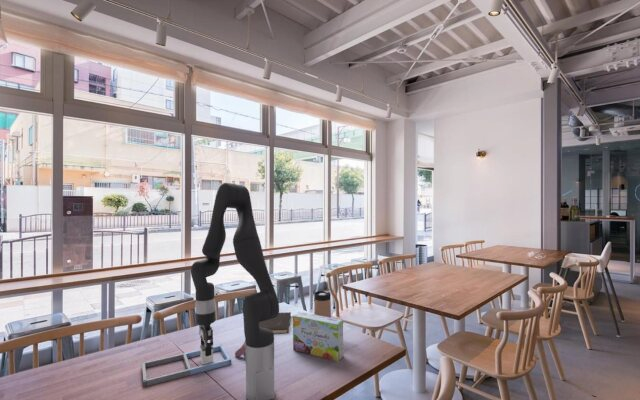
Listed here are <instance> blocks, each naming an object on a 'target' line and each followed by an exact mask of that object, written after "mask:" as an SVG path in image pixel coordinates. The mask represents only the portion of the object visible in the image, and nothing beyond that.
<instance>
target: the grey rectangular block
mask: <svg viewBox="0 0 640 400" xmlns="http://www.w3.org/2000/svg"><path fill="white" fill-rule="evenodd" d="M199 346H200V347H199V348H200V349H199V350H200V355H199V356H200V362H201V364H202V365H206V364H210V363H214V352H213V347H214V345H213V346H211V350H212V354H211V355H210V356H206V355H205V344H204V345H201V344H200V345H199ZM202 365H201V366H202Z"/></svg>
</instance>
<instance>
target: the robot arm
mask: <svg viewBox="0 0 640 400" xmlns="http://www.w3.org/2000/svg"><path fill="white" fill-rule="evenodd" d="M227 208H228V209H235V211H236V213H237V217H238V222H237V223H238V224H237V227H236V230H235V232H234V234H233V239H232V244H233V249H234V253H235V257H236V260H237V262H238V263H239V264H240V266H241V267H242V268H243V269H244V270H245V271H246V272H248V273H249V275H250V276H251V277H252V278H253V280H255V283H256V284H257V286H258V289H259V291H257V292H253V293H248V294H246V295H245V296H244V297H243V300H242V301H243V302H242V317H243V318H242V319H243V333H244V338H245V341H244V342H245V346H246V354H245V393H246V394H245V397H246V399H247V400H273V399H275V392H276V391H275V390H276V389H275V385H276V383H275V335H274V334H275V333H273V331H272V330H270V329H267V328H261V327H259V322H262V321H266V320H269V319H273V318H276V317H277V316H278V314H279V313H280V304H279V299H278V294H277V293H276V292H277V291H276V289H275V286H274V284H273V281H272V279H271V277H270V274H269V273H270V272H269V270H268V267H267V264H266V259H265V256H264V253H263V248H262V245H261V240H260V237H259V233H258V231H257V227H256V222H255V218H254V213H253V212H254V211H253V207H252V200H251V195H250V192H249V190H248V188H247V187H246V186H245V185H242V184H236V183H232V182H223V183H221V184H220V185H219V187H218V189H217V191H216V194H215V198H214V204H213V209H212V213H211V220H210V224H209V229H208V232H207V234H206V235H207V236H206V237H205V240H204V243H203V245H202V250H201V252H202V254H203V255H204V256H205V258H203V259H200V260H195V261H194V262H193V264H192V265H191V267H190V275H191V279H192V282H193V286H194V289H195V304H194V306H195V307H194V311H195V312H194V313H195V314H194V316H195V322H194V323H195V324H196V325H197V326H198V329H199V330H198V335H199V338H200V345H204V344H205V355H206V356H210V355H211V354H212V350H211V346H213V347H214V329H213V327H212V326H211V324H213V323H215V322H216V319H217V317H216V315H217V314H216V297H215V296H216V295H215V293H216V292H215V285H214V284H213V283H212V282H208V280H207V278H208V277H212V276H213V275H215V274H216V273H217V272H218V271H219V268H220V260H221V253H222V250H223V247H224V245H225V242H226V239H227V233H226V227H225V223H224V221H225V220H224V216H225V213H226V210H227ZM208 341H209V342H208Z"/></svg>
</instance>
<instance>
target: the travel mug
mask: <svg viewBox="0 0 640 400" xmlns="http://www.w3.org/2000/svg"><path fill="white" fill-rule="evenodd" d="M313 294H314V295H313V296H314V297H313V301H314V302H313V305H314V306H313V307H314V308H313V309H314V310H313V311H314V315H319V316H324V317H329V318H332V308H331V307H332V303H331V301H332V299H331V298H332V297H331V292H330V291H328V292H326V291H325V290H319V291H315V292H314V293H313Z"/></svg>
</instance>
